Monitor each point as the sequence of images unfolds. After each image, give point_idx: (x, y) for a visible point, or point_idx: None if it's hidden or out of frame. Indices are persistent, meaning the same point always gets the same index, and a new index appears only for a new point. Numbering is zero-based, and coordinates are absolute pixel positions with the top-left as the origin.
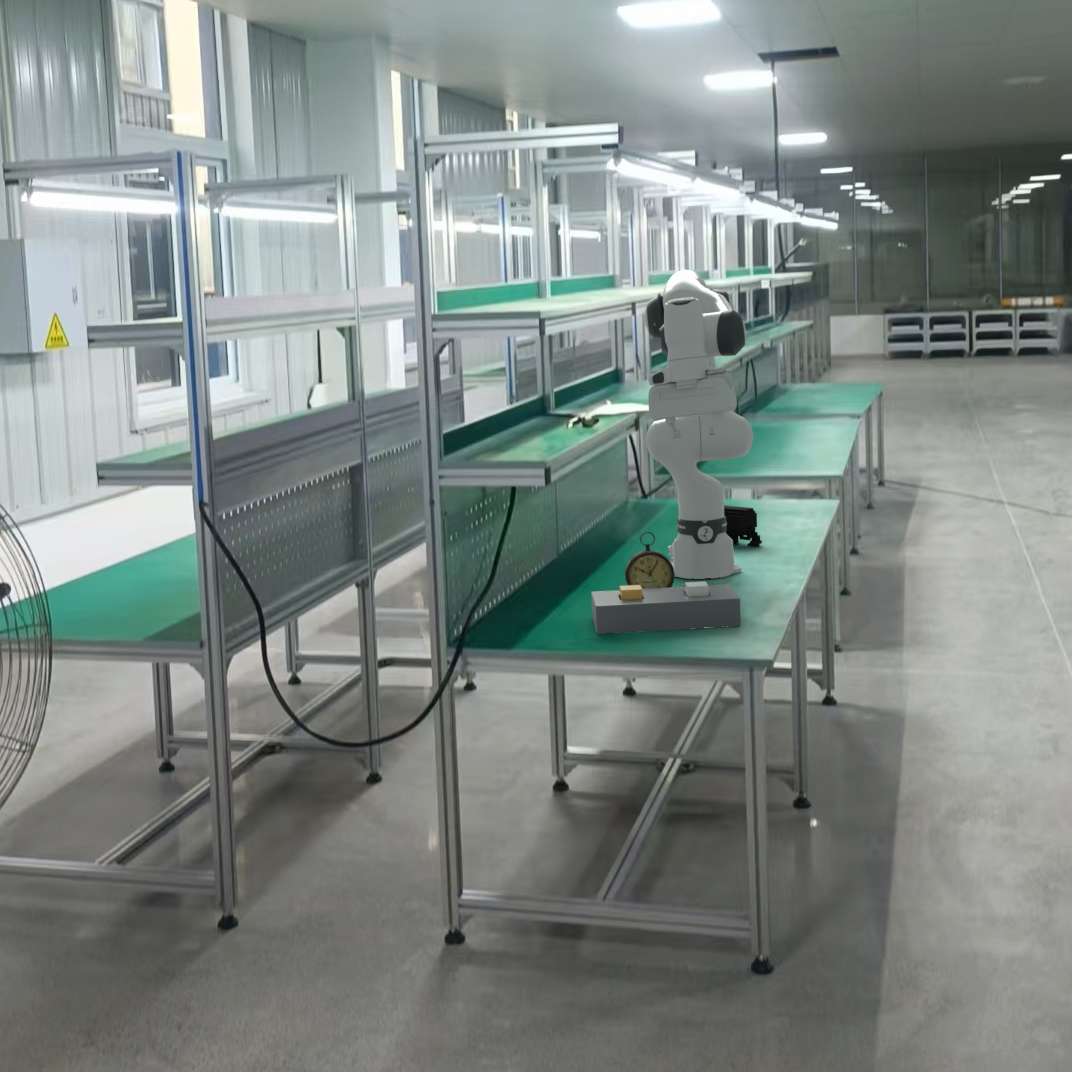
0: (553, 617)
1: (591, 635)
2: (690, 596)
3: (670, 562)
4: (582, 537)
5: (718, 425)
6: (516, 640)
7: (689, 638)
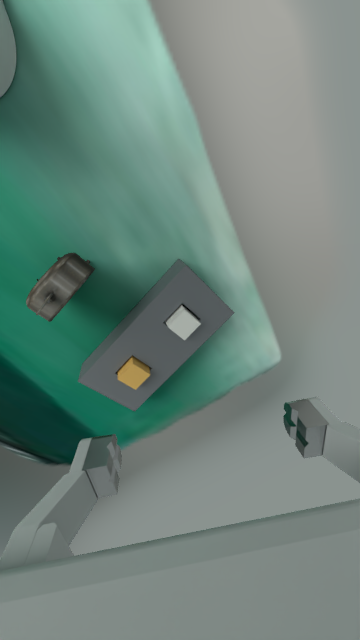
0: (45, 382)
1: None
2: None
3: (87, 276)
4: None
5: (346, 430)
6: None
7: (206, 355)
